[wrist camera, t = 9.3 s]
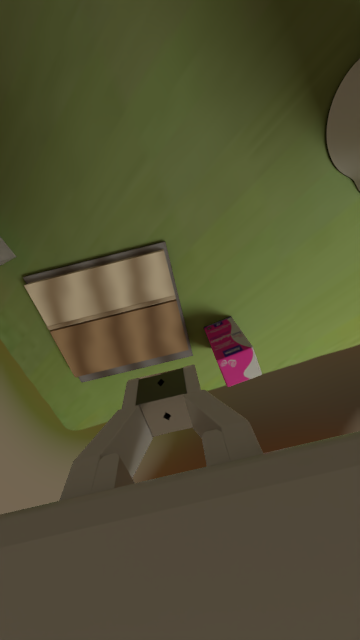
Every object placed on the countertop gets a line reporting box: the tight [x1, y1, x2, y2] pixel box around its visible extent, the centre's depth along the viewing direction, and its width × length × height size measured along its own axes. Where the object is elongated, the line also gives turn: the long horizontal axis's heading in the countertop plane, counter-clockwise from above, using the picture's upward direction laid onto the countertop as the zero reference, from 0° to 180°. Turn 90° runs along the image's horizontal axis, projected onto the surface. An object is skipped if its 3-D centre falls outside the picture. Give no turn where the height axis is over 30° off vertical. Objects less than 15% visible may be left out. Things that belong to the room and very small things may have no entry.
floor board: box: [23, 241, 193, 382], centre depth 38 cm, size 23×22×3 cm
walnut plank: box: [50, 299, 189, 377], centre depth 39 cm, size 22×10×2 cm, turn 103°
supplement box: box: [204, 316, 262, 387], centre depth 38 cm, size 6×6×12 cm
